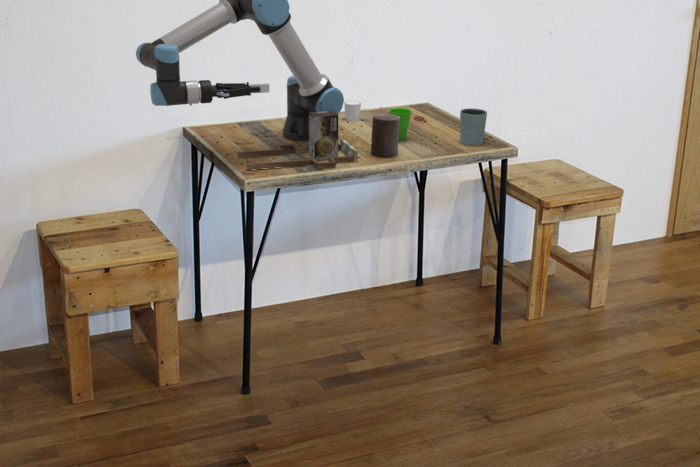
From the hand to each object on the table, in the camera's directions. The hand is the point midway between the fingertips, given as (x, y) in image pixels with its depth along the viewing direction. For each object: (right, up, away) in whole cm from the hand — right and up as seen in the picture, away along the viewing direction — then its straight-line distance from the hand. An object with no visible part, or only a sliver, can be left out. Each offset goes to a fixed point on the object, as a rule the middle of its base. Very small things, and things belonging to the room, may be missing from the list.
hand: (268, 87), depth 306 cm
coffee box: (+18, -22, +16) cm, 33 cm away
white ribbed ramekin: (+28, -3, +64) cm, 70 cm away
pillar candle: (+40, -20, +22) cm, 50 cm away
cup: (+46, -13, +40) cm, 62 cm away
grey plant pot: (+73, -15, +38) cm, 84 cm away
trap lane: (+8, -23, +13) cm, 28 cm away
